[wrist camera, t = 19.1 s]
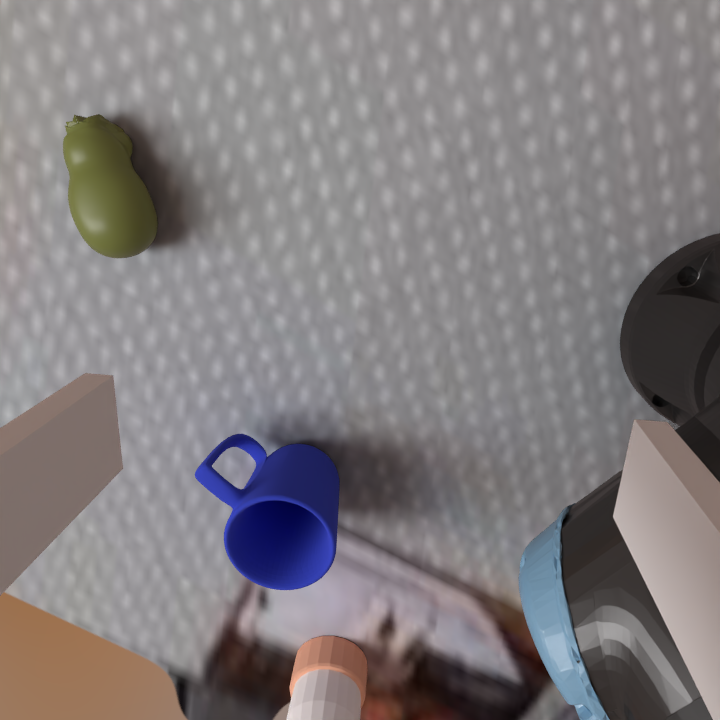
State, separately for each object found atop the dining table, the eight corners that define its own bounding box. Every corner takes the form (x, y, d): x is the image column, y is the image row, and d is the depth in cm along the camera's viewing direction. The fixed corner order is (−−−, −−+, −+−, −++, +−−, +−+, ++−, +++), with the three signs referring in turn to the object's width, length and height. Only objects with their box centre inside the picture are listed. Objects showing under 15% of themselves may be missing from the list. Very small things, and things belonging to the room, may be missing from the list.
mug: (262, 383, 50) (228, 440, 40) (367, 473, 52) (359, 546, 42) (203, 445, 52) (158, 512, 43) (306, 528, 54) (285, 609, 45)
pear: (74, 267, 42) (26, 122, 40) (114, 265, 47) (73, 136, 45) (146, 246, 41) (99, 96, 39) (179, 246, 46) (139, 114, 44)
